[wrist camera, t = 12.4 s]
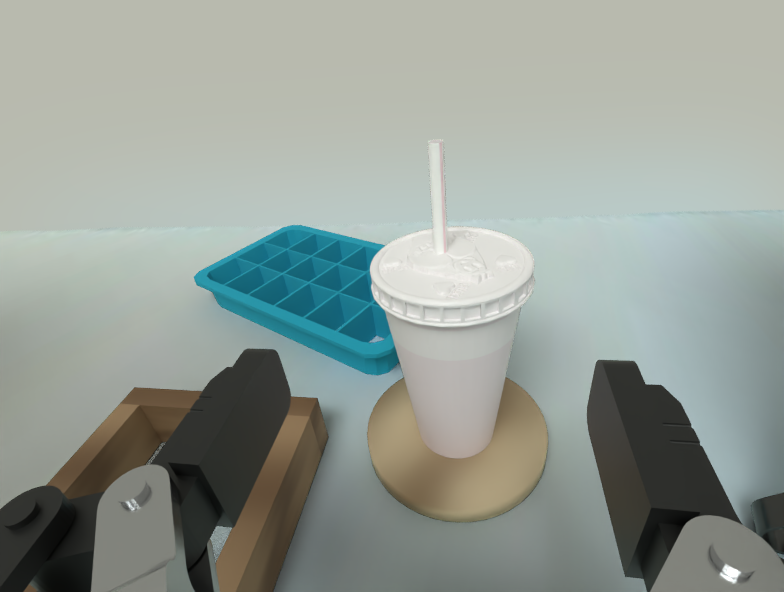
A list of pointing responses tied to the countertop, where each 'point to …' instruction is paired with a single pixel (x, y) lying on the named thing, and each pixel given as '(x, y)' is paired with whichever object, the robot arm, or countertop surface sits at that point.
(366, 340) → the ice cube tray
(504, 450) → the trivet
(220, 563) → the square wooden frame
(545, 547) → the countertop surface
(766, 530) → the coffee press
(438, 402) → the smoothie
